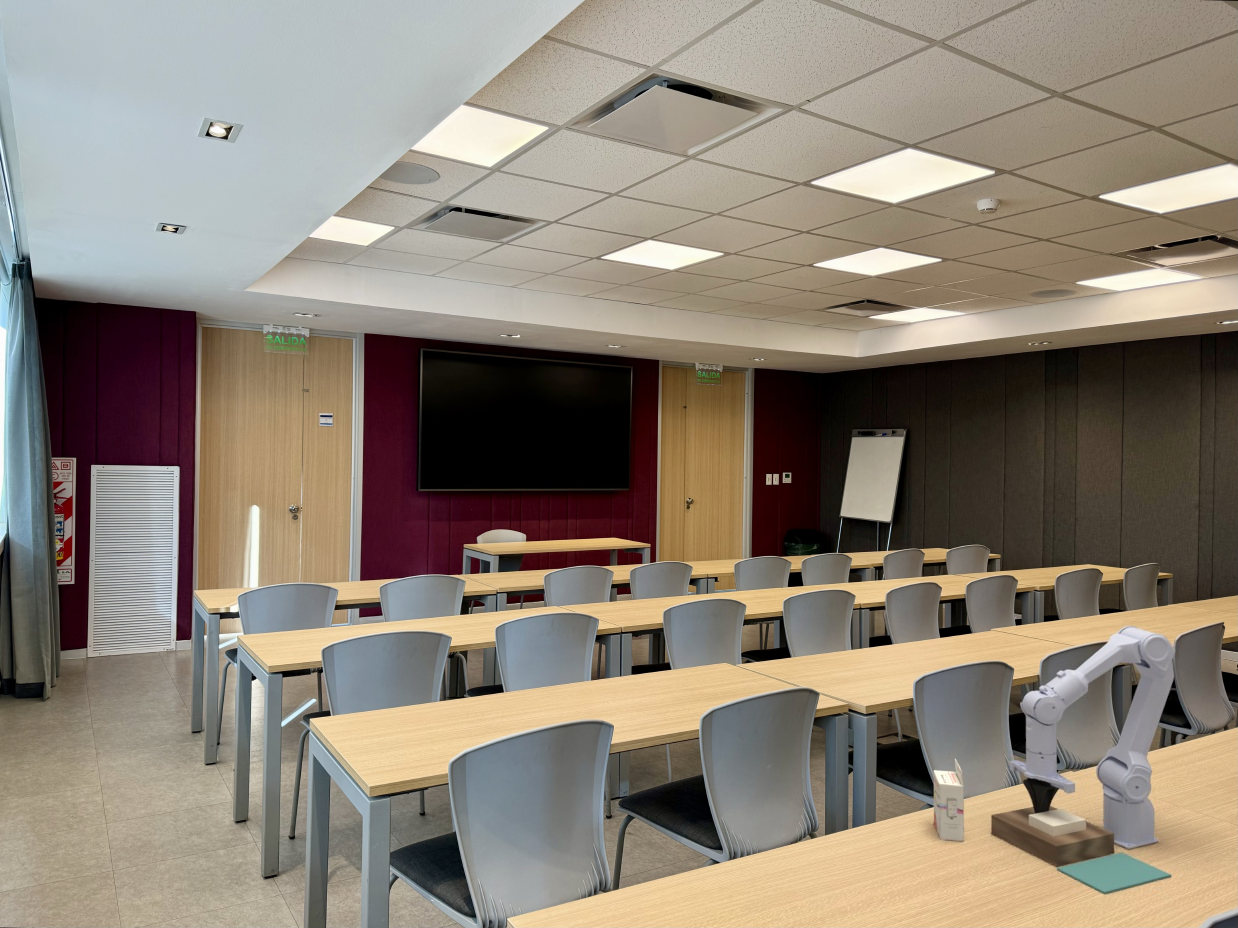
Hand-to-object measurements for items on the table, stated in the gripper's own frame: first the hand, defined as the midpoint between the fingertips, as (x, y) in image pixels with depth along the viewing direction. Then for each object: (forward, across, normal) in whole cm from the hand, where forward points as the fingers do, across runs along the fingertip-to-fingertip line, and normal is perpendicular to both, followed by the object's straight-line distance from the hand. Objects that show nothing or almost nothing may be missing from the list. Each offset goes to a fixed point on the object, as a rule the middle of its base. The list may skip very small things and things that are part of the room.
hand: (1041, 815), depth 174 cm
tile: (0, +4, 0) cm, 4 cm away
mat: (+5, +16, 0) cm, 17 cm away
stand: (+5, +2, 0) cm, 5 cm away
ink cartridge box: (+5, -10, -16) cm, 19 cm away
